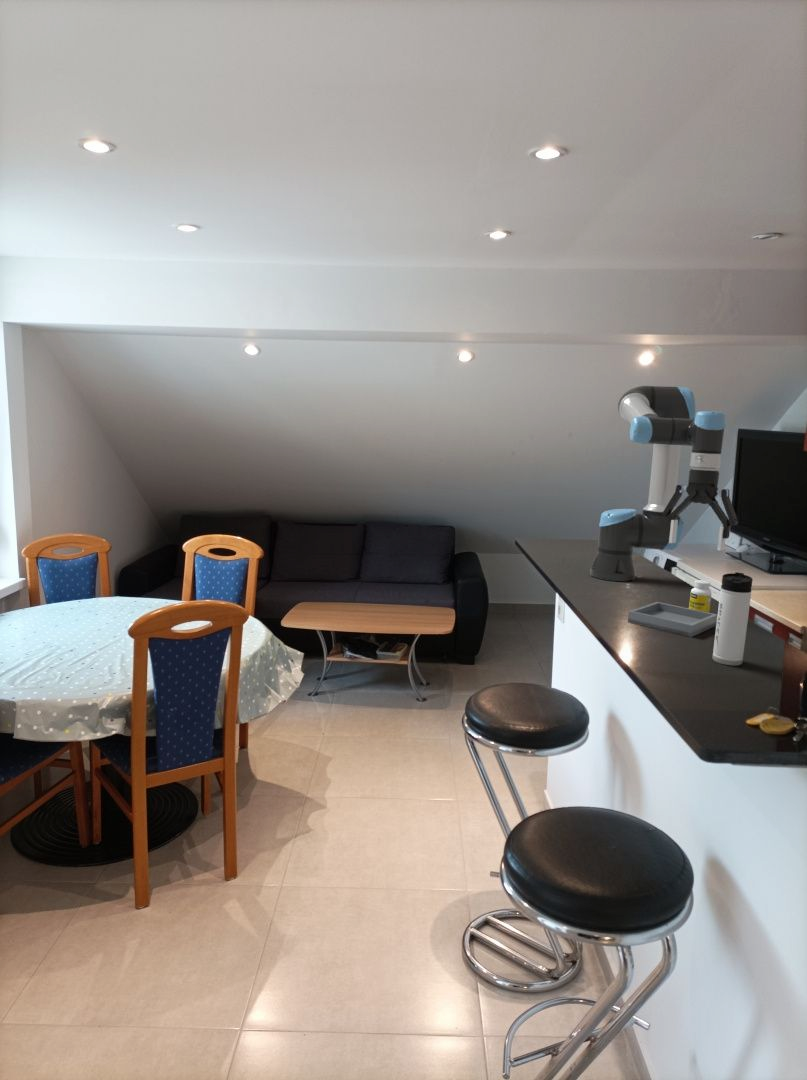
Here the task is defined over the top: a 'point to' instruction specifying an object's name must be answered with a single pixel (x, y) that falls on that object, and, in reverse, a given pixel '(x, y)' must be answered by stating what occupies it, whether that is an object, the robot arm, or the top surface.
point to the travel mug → (732, 619)
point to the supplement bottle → (700, 596)
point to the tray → (673, 618)
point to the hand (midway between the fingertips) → (695, 546)
